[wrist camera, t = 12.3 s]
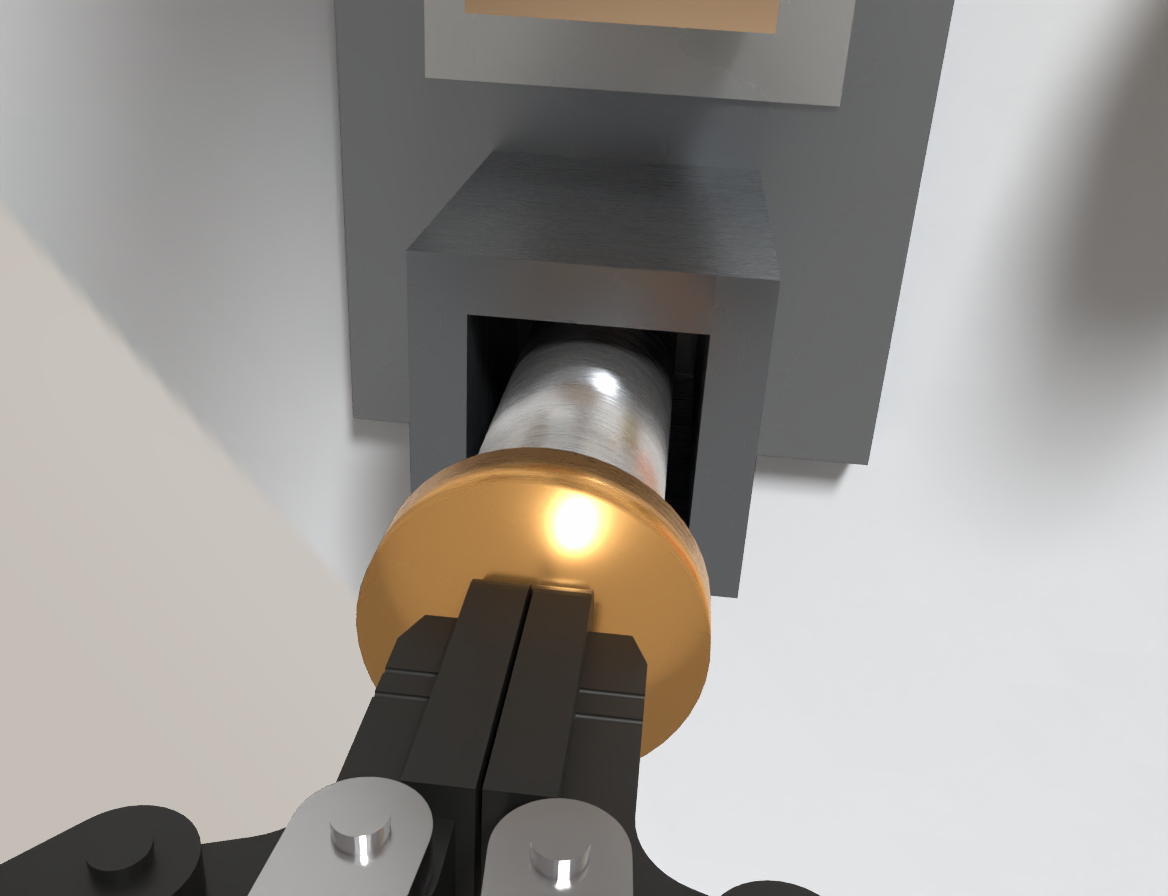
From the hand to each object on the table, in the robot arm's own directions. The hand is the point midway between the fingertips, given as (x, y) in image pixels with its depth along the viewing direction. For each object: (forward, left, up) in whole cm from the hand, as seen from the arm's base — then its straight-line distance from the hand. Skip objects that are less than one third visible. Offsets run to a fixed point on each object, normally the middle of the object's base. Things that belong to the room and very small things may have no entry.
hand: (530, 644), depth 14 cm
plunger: (0, 0, -11) cm, 11 cm away
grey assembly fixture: (-5, 0, -15) cm, 16 cm away
